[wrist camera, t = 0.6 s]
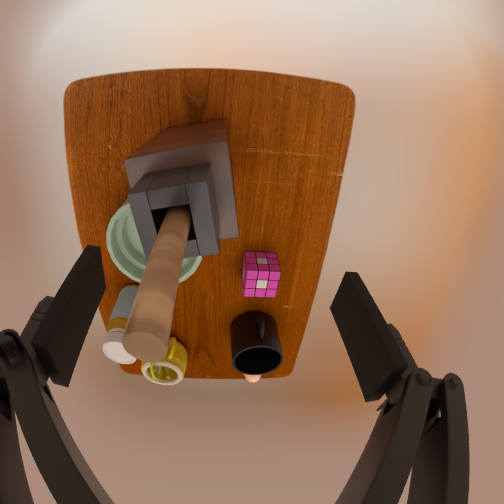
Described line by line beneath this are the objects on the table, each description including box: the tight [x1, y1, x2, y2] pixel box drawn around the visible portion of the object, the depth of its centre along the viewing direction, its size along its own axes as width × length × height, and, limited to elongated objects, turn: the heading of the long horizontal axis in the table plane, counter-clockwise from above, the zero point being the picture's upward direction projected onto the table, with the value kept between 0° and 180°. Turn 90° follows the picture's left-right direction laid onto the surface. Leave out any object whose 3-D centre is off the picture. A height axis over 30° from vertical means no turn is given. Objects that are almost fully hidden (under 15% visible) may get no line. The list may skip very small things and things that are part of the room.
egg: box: [244, 374, 261, 382], centre depth 67 cm, size 4×4×6 cm
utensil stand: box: [124, 119, 239, 262], centre depth 31 cm, size 9×9×25 cm
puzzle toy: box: [241, 251, 281, 297], centre depth 51 cm, size 6×6×6 cm
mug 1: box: [141, 337, 188, 385], centre depth 58 cm, size 13×11×12 cm
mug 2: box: [230, 312, 283, 375], centre depth 57 cm, size 10×13×10 cm
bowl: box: [106, 198, 202, 283], centre depth 45 cm, size 16×16×6 cm
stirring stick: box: [122, 204, 192, 361], centre depth 18 cm, size 2×2×16 cm
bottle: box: [103, 284, 139, 364], centre depth 48 cm, size 7×7×15 cm
